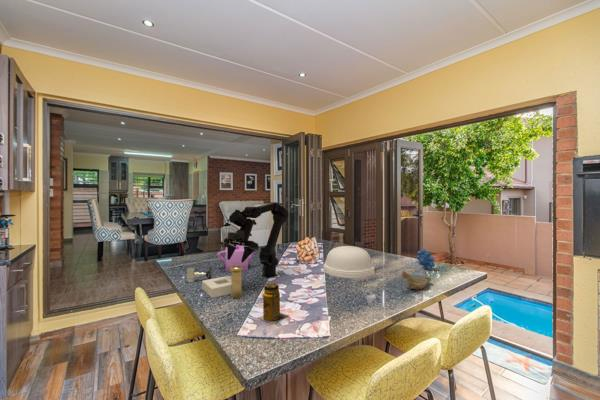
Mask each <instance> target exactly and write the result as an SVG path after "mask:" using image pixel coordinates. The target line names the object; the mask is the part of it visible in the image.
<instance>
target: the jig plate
mask: <svg viewBox="0 0 600 400" xmlns="http://www.w3.org/2000/svg"><path fill="white" fill-rule="evenodd" d="M201 289H202V291H204V292H205V294H207V295H208V296H209V297H210V298H211V299H212V298H218V297H222V296H223V297H224V296H226V295H231V275H225V276H221V277H215V278H211V279H209V278H208V279H205V280H201Z"/></svg>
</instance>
